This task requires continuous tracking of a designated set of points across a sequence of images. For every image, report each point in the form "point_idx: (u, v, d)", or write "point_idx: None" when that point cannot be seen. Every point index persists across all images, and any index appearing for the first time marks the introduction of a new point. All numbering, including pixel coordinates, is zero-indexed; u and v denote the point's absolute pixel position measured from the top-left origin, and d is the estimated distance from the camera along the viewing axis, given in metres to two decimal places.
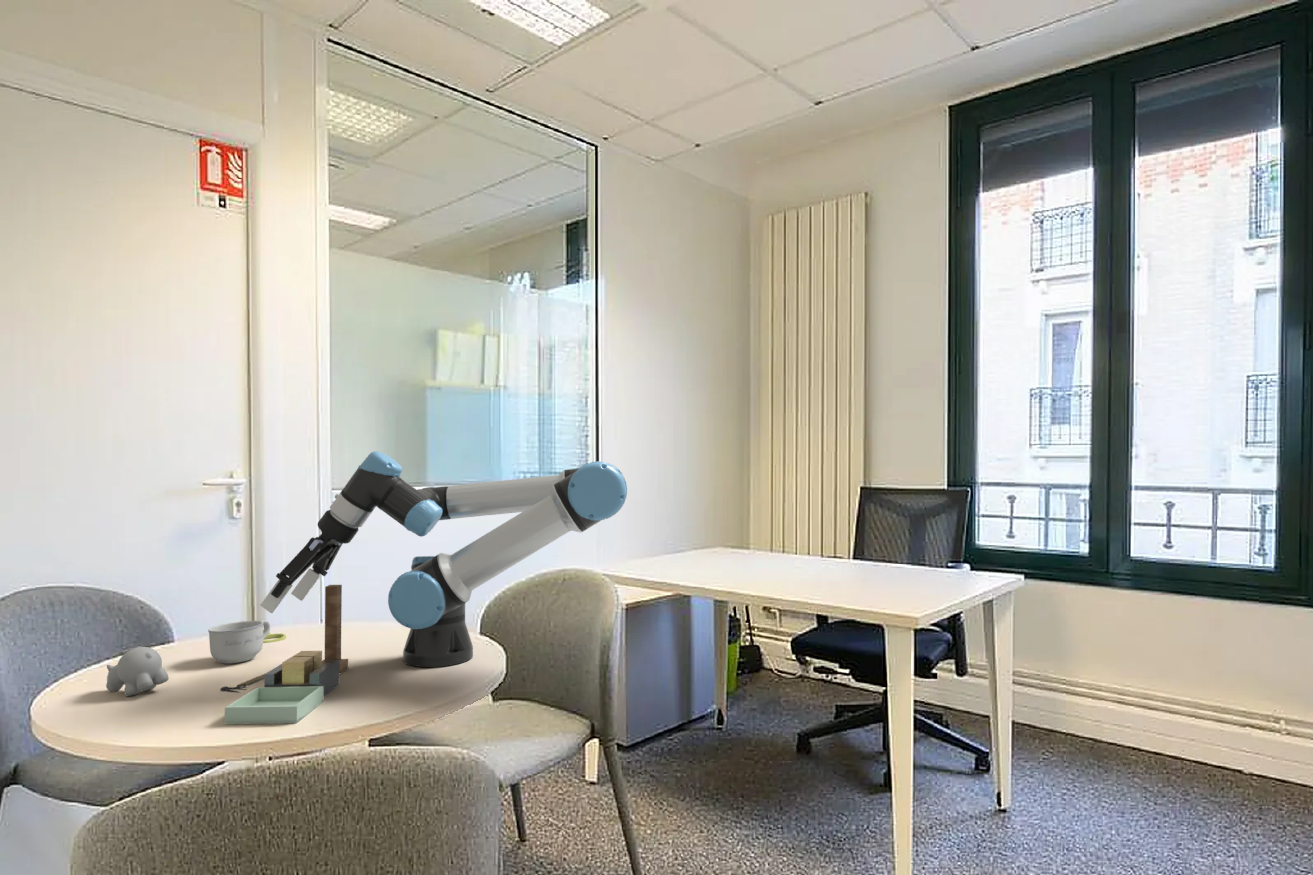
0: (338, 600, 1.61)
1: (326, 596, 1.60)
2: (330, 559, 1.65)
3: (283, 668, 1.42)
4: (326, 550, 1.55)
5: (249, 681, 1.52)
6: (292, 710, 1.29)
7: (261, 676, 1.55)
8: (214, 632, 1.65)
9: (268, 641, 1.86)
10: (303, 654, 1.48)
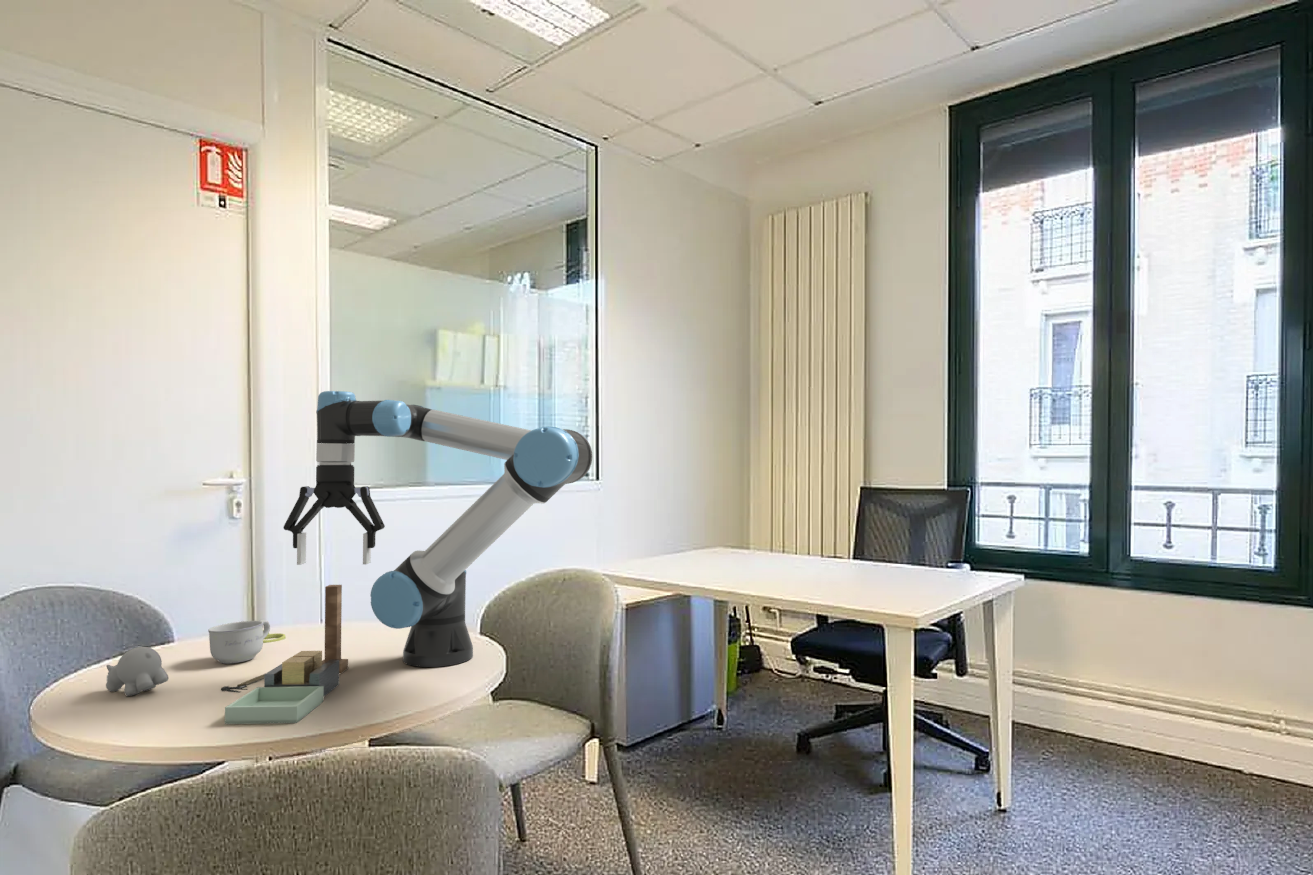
0: (338, 600, 1.61)
1: (326, 596, 1.60)
2: None
3: (283, 668, 1.42)
4: None
5: (249, 681, 1.52)
6: (292, 710, 1.29)
7: (261, 676, 1.56)
8: (214, 632, 1.65)
9: (268, 641, 1.86)
10: (303, 654, 1.48)
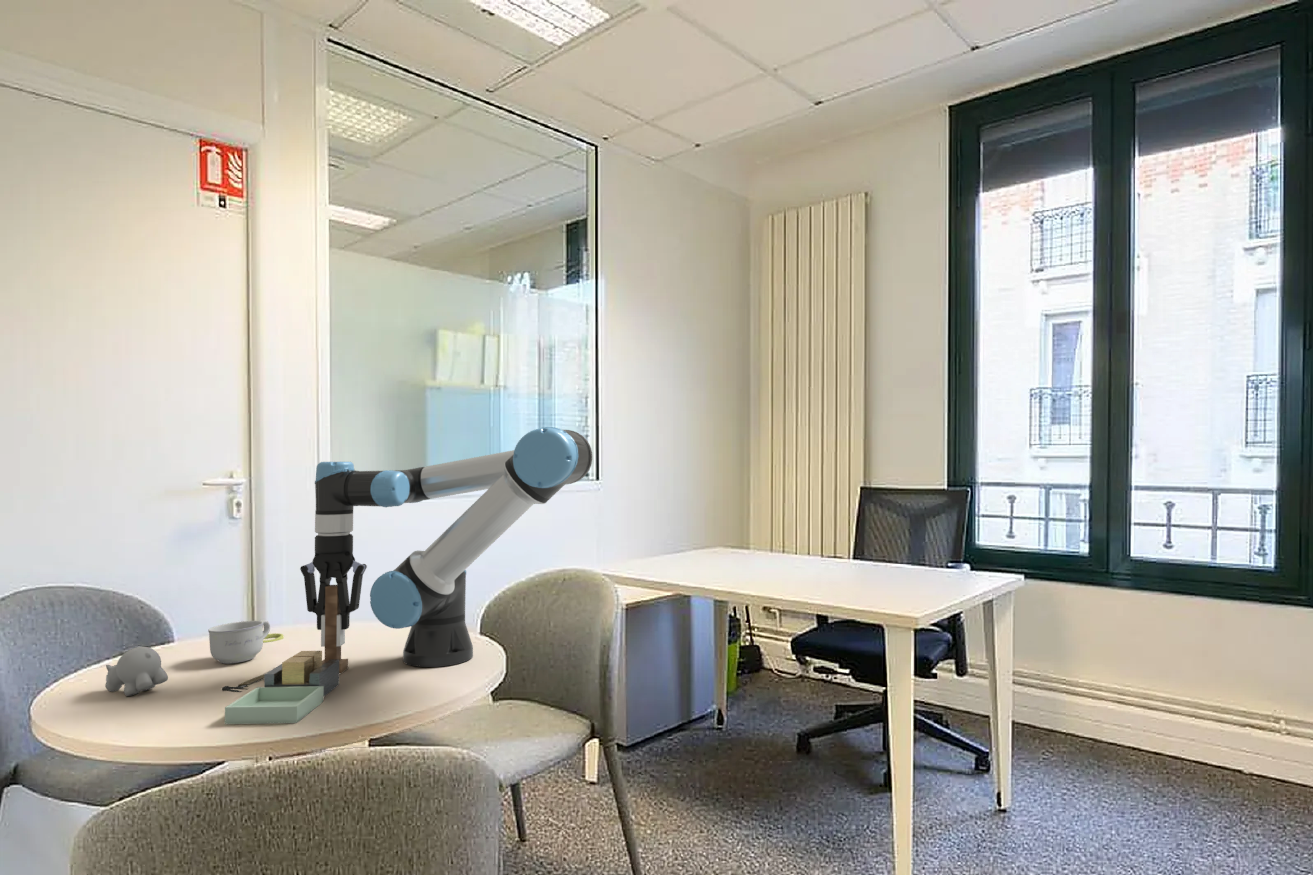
0: (338, 600, 1.61)
1: (326, 596, 1.60)
2: None
3: (283, 668, 1.42)
4: None
5: (250, 680, 1.52)
6: (292, 710, 1.29)
7: (262, 676, 1.56)
8: (214, 632, 1.65)
9: (267, 641, 1.86)
10: (303, 654, 1.48)
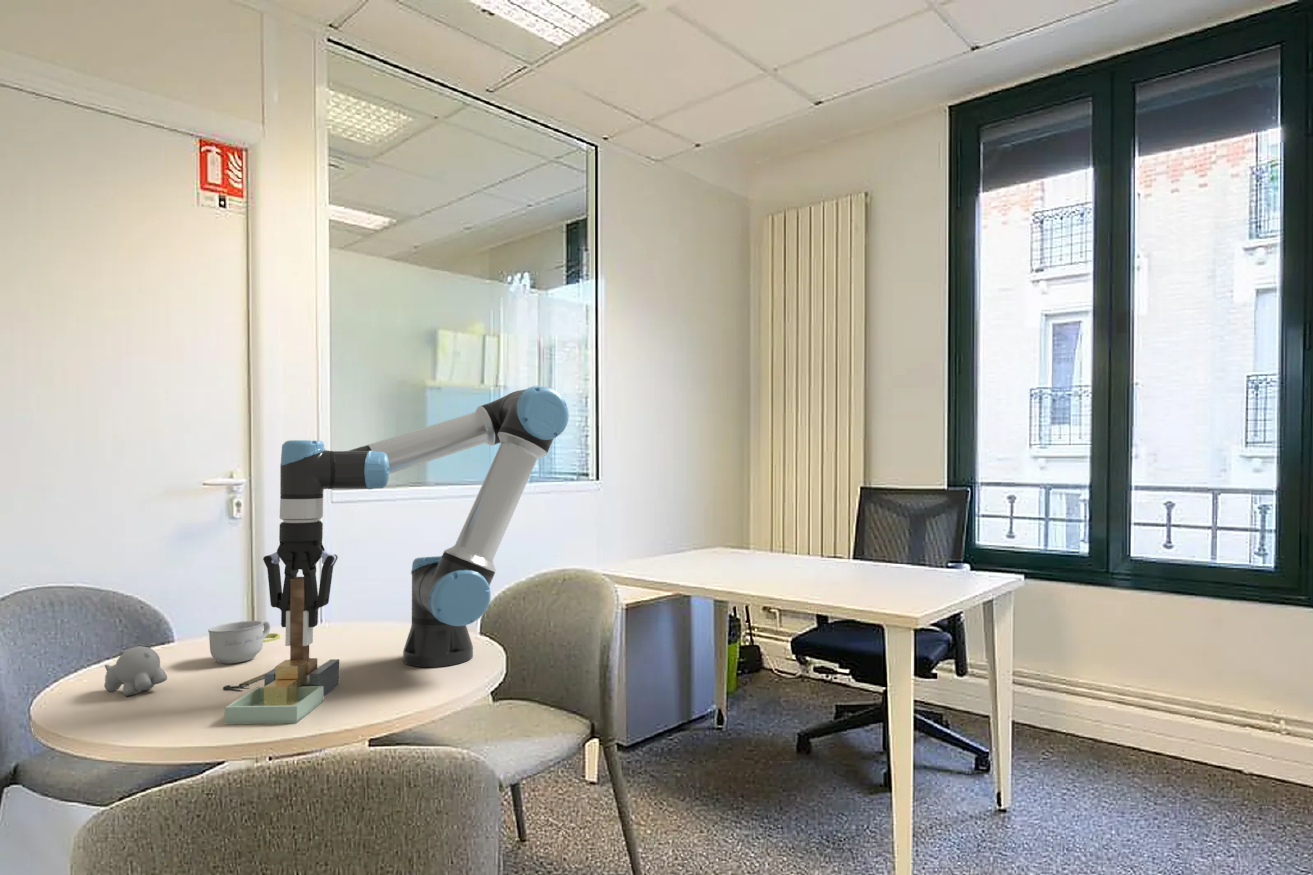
0: (305, 594, 1.45)
1: (291, 589, 1.44)
2: None
3: None
4: None
5: (251, 680, 1.53)
6: (292, 710, 1.29)
7: (263, 675, 1.56)
8: (214, 632, 1.65)
9: (265, 641, 1.87)
10: (286, 664, 1.41)
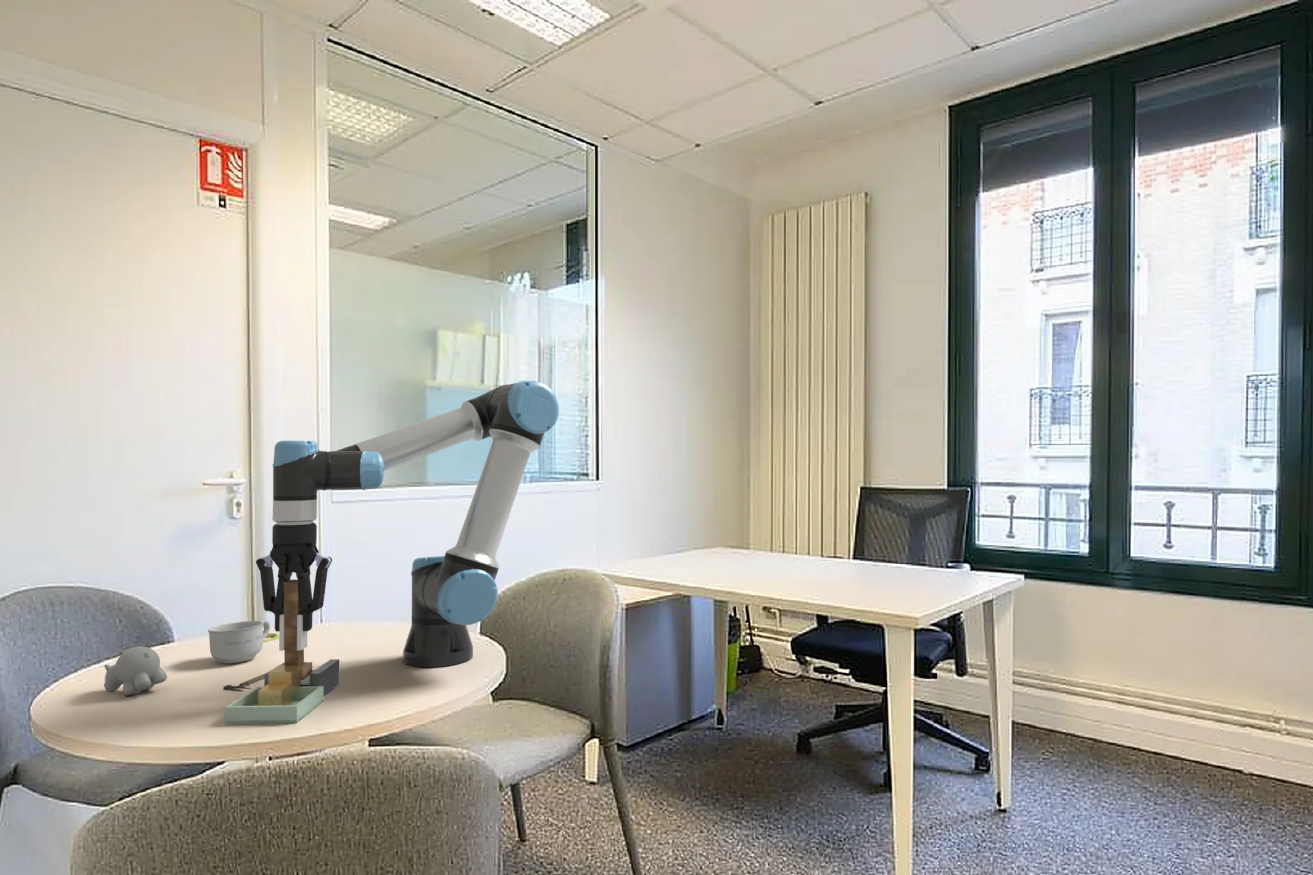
0: (299, 597, 1.42)
1: (285, 593, 1.41)
2: None
3: None
4: None
5: (252, 680, 1.53)
6: (292, 710, 1.29)
7: (263, 675, 1.56)
8: (214, 632, 1.65)
9: (265, 641, 1.87)
10: (280, 670, 1.38)
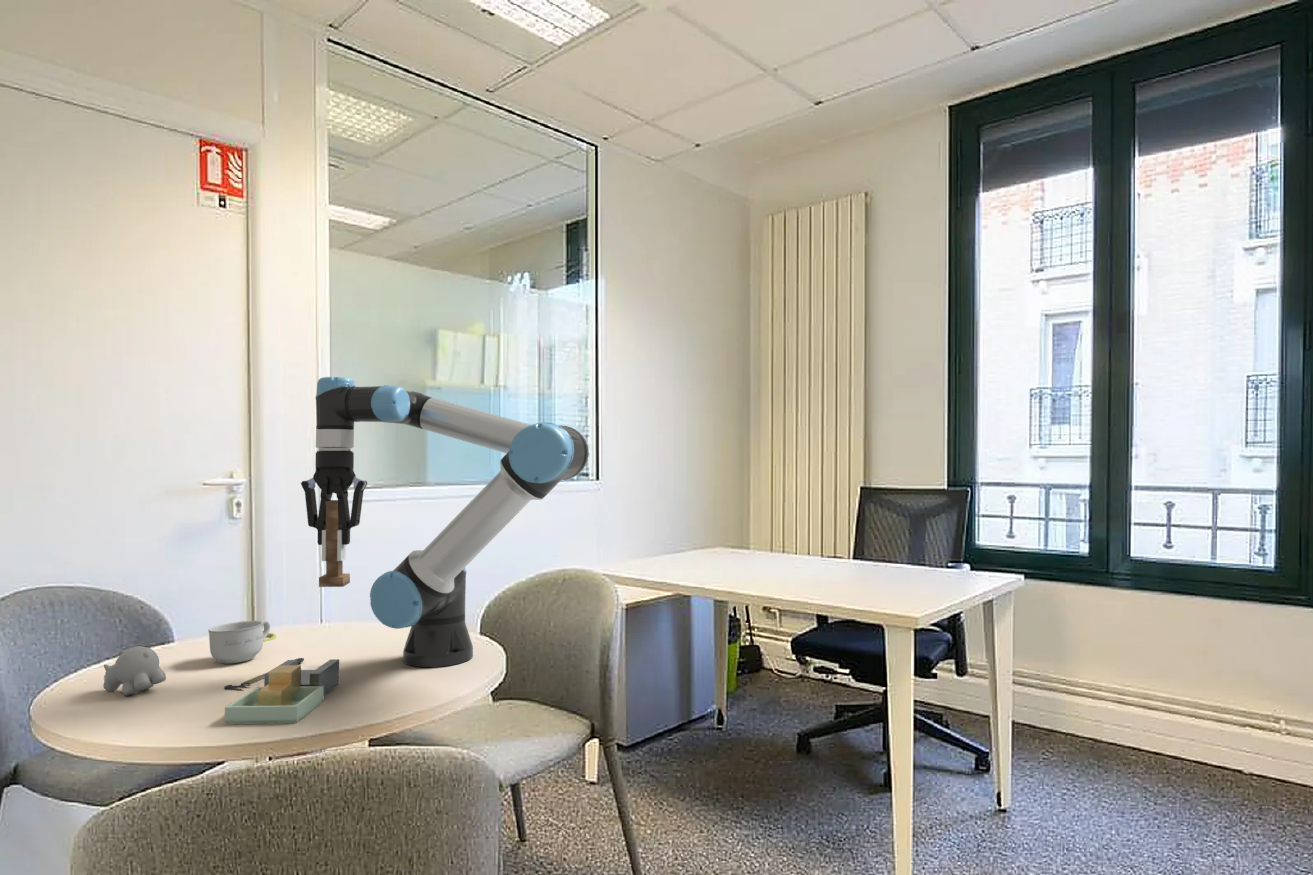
0: (339, 515, 1.61)
1: (327, 511, 1.61)
2: None
3: None
4: None
5: (253, 679, 1.53)
6: (292, 710, 1.29)
7: None
8: (214, 632, 1.65)
9: (263, 641, 1.87)
10: (280, 670, 1.38)
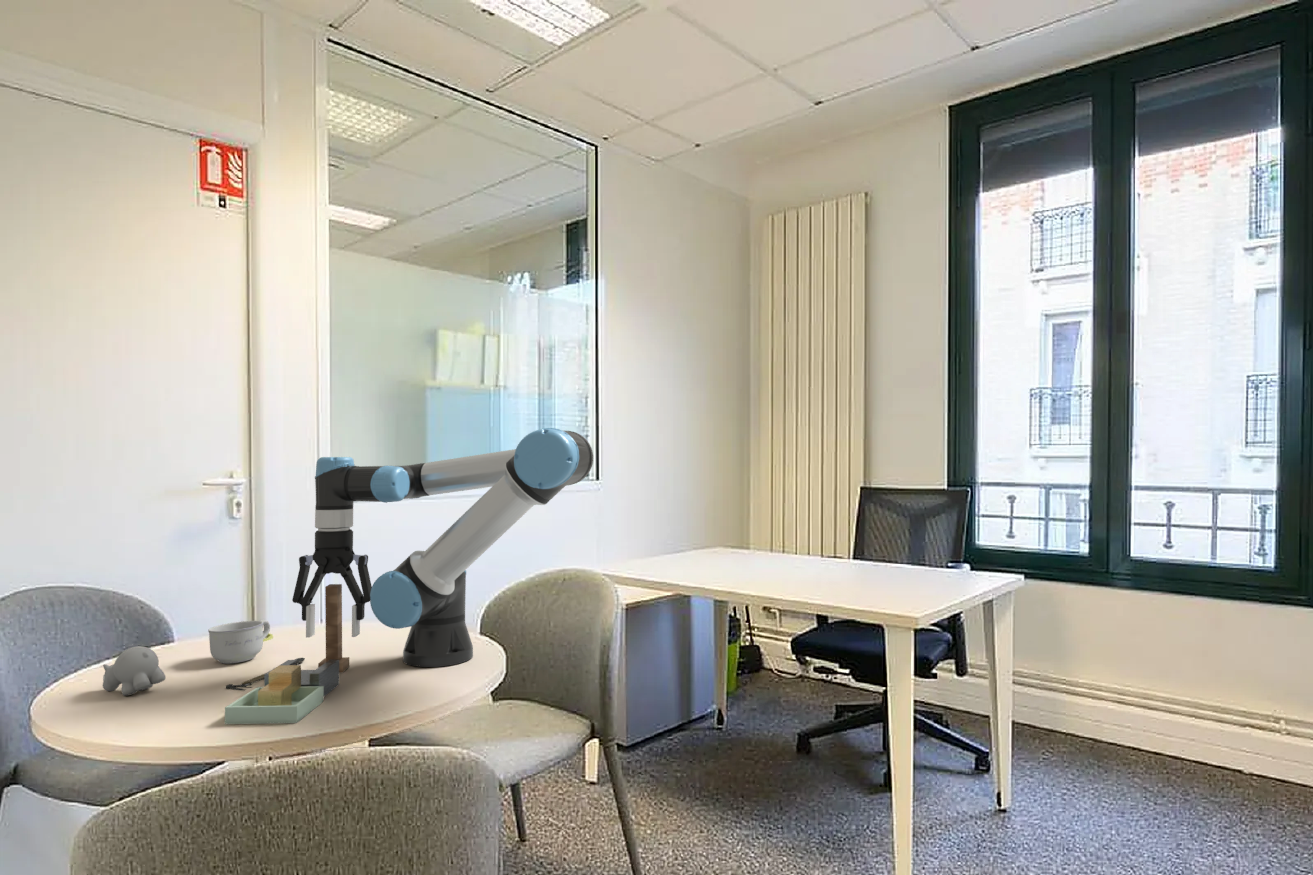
0: (338, 600, 1.61)
1: (326, 596, 1.60)
2: None
3: None
4: None
5: (254, 679, 1.53)
6: (292, 710, 1.29)
7: None
8: (214, 632, 1.65)
9: None
10: (280, 670, 1.38)
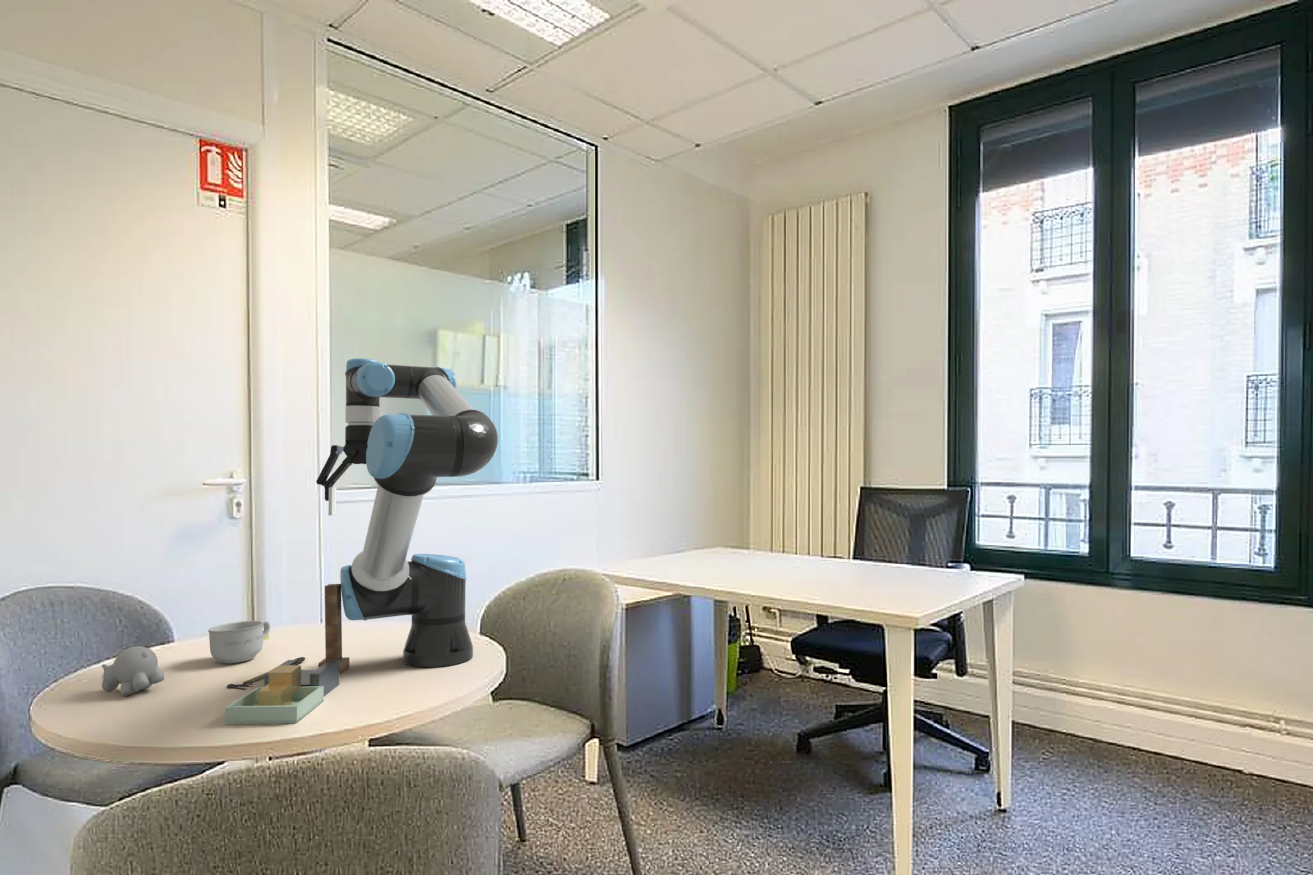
0: (338, 599, 1.61)
1: (326, 595, 1.61)
2: None
3: None
4: None
5: (255, 678, 1.54)
6: (292, 710, 1.29)
7: None
8: (214, 632, 1.65)
9: None
10: (280, 670, 1.38)
